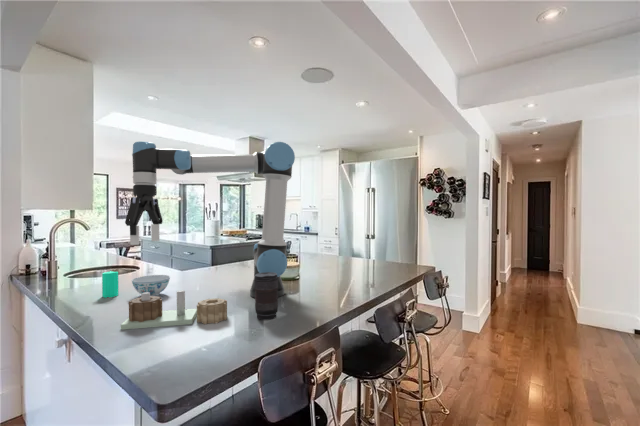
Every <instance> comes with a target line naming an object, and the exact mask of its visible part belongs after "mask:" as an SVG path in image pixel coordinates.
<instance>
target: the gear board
mask: <svg viewBox="0 0 640 426" xmlns="http://www.w3.org/2000/svg"><path fill="white" fill-rule="evenodd" d="M140 297H141V301H147V300H150V292H146V293H142V294H140ZM196 318H197V308H187V309H186V291H185V290H177V291H176V309H169V310H162V316H161V317H157V318H156V319H155V320H147V321H144V322H139V321H133V322H131V321H130V319H129V317H128V318H126V319H125V321H123V322H122V323H121V324H120V330H133V329H134V330H135V329H146V328H157V327H172V326H173V327H174V326H186V325H193V322H194V321H195V319H196Z"/></svg>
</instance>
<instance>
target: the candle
mask: <svg viewBox="0 0 640 426" xmlns="http://www.w3.org/2000/svg"><path fill="white" fill-rule="evenodd" d="M101 285H102V286H101V288H102V289H101V290H102V291H101V293H102V298H103V297H104V299H105V298H107V297H109V298H113V297H114V296H115V297H117V296H119V272H118V271H111V268H110V269H109V271H105V272H102V273H101Z"/></svg>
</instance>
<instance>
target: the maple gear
mask: <svg viewBox="0 0 640 426" xmlns="http://www.w3.org/2000/svg"><path fill="white" fill-rule="evenodd" d="M196 309H197V315H196V323H202V325H208V324H218V323H220V322H222V321H226V320H227V317H228V300H226V299H224V298H218V297H216V298H206V299H202V300H200V301H199V302H197V304H196Z"/></svg>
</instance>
